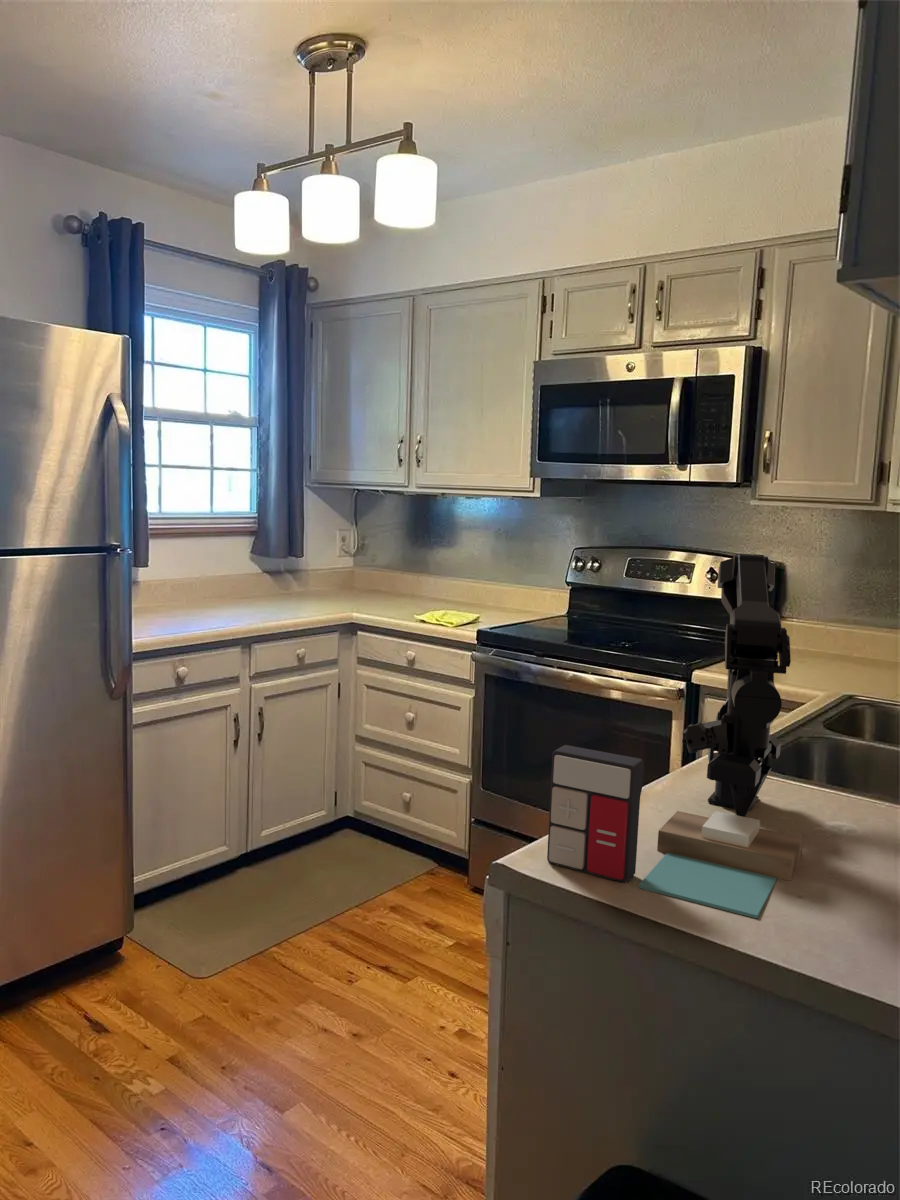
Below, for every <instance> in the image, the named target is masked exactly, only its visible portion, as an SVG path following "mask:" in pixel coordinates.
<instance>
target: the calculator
mask: <svg viewBox="0 0 900 1200" xmlns="http://www.w3.org/2000/svg"><path fill="white" fill-rule="evenodd" d="M551 757H552V758H551V775H550V778H551V779H550V794H549V795H550V798H549V814H548V816H549V817H548V832H547V833H548V834H547V835H548V837H547V853H546V855H547V856H546V857H547V862H548V863H550V864H553V865H555V866H556V865H557V866H561V867H563V868H568V869H572V870H575V871H580V872H584V873H587V874H591V875H595V876H598V877H602V878H606V879H608V880H614V881H618V882H622V883H628V882H629V881H630V880H631V879H632V877H633V876H634V875H635V874H636V867H637V854H638V853H637V852H638V837H639V836H638V835H639V821H640V820H639V819H640V805H641V795H642V790H643V781H644V779H643V778H644V765H645V764H644V762H645V761H644V760H643V759H641V758H639V757H632V756H626V755H623V754H622V755H621V754H616V753H611V752H605V751H600V750H595V749H589V748H585V747H579V746H573V745H567V744H564V745H562V746H560V747H558V748H557V749H555V750H554V751H552V756H551Z"/></svg>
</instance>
